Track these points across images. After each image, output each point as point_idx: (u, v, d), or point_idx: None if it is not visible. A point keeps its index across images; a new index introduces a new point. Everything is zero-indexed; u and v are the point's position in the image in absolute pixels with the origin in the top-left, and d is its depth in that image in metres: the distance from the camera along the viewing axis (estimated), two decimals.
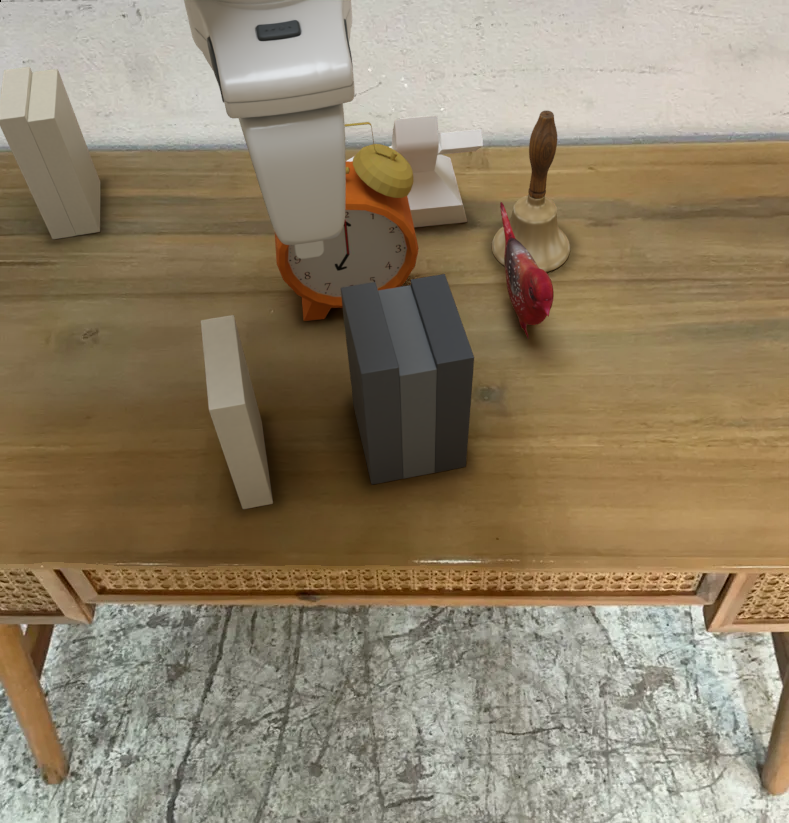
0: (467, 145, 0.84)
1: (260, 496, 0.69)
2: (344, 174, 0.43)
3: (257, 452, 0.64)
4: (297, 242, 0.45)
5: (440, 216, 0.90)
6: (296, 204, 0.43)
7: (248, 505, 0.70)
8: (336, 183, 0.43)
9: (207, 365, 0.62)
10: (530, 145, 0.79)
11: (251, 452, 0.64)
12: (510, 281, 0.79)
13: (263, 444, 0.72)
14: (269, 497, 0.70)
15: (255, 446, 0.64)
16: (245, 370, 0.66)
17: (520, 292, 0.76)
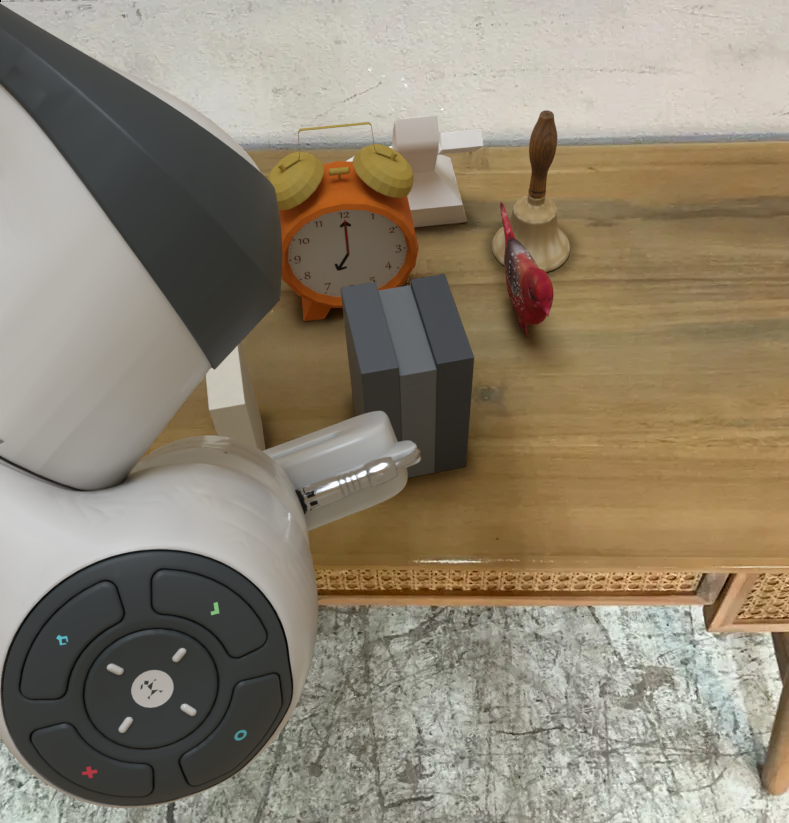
0: (467, 145, 0.84)
1: None
2: None
3: None
4: None
5: (440, 216, 0.90)
6: None
7: None
8: None
9: None
10: (530, 145, 0.79)
11: None
12: (510, 281, 0.79)
13: (263, 444, 0.72)
14: None
15: (255, 446, 0.64)
16: (245, 370, 0.66)
17: (520, 292, 0.76)
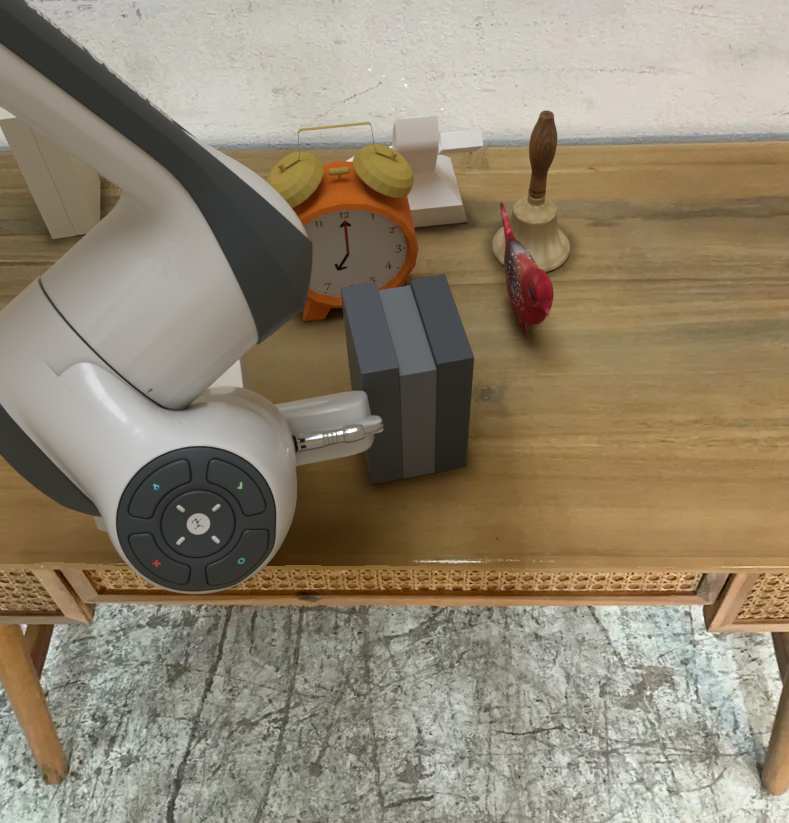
0: (467, 145, 0.84)
1: None
2: None
3: None
4: None
5: (440, 216, 0.90)
6: None
7: None
8: None
9: None
10: (530, 145, 0.79)
11: None
12: (510, 281, 0.79)
13: None
14: None
15: None
16: (245, 370, 0.66)
17: (520, 292, 0.76)
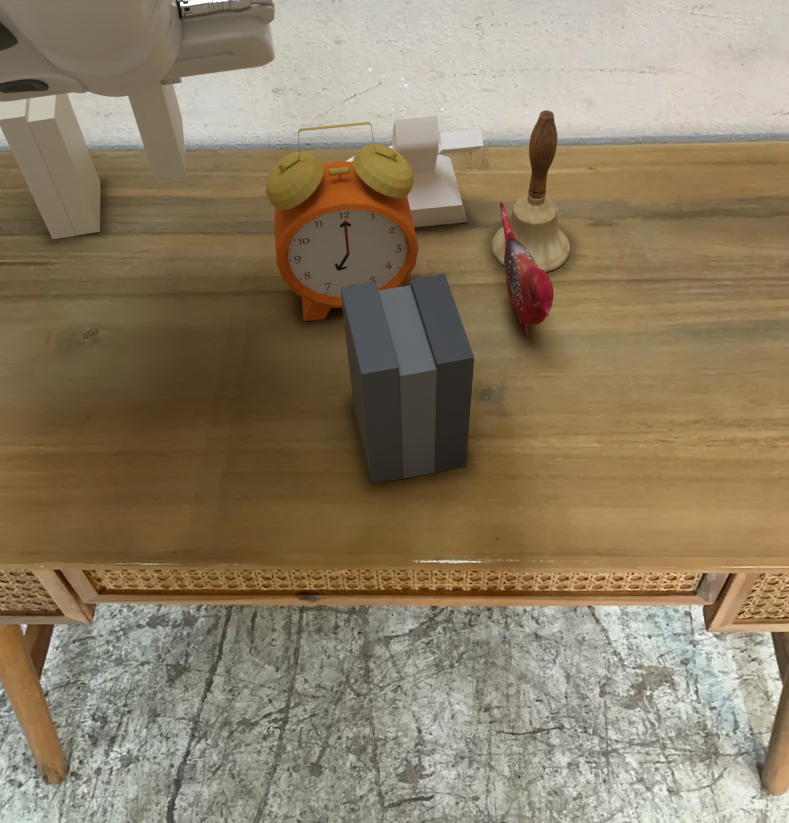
0: (467, 145, 0.84)
1: (172, 166, 0.68)
2: None
3: (162, 96, 0.63)
4: None
5: (440, 216, 0.90)
6: None
7: (161, 179, 0.69)
8: None
9: None
10: (530, 145, 0.79)
11: (157, 96, 0.63)
12: (510, 281, 0.79)
13: (179, 127, 0.71)
14: (182, 170, 0.69)
15: (159, 86, 0.63)
16: None
17: (520, 292, 0.76)
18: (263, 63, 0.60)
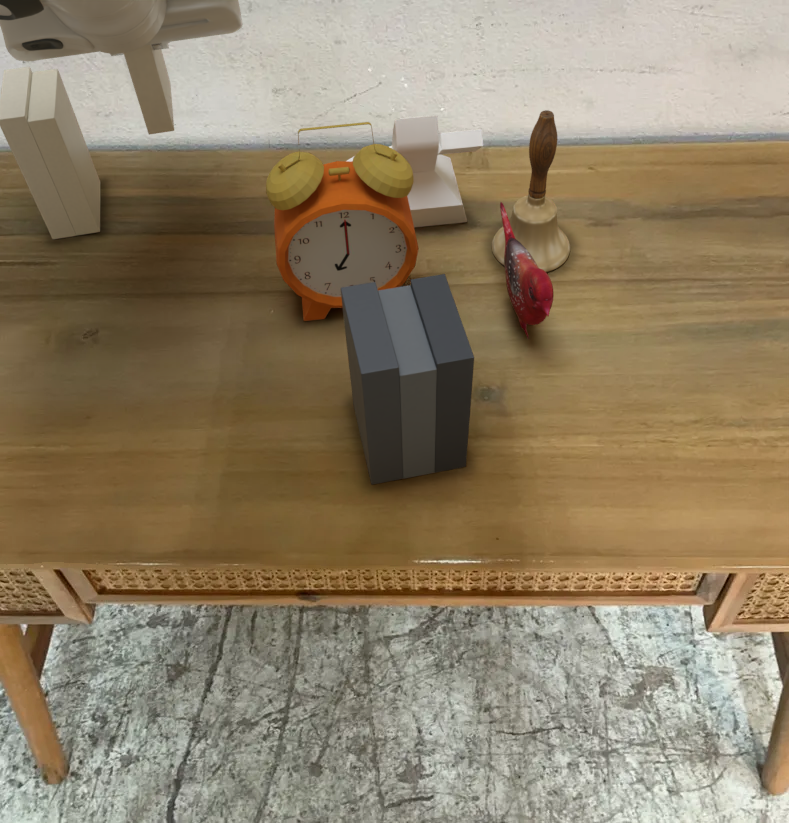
0: (467, 145, 0.84)
1: (162, 118, 0.83)
2: (10, 53, 0.70)
3: (153, 59, 0.78)
4: None
5: (440, 216, 0.90)
6: None
7: (152, 129, 0.84)
8: None
9: None
10: (530, 145, 0.79)
11: (148, 58, 0.78)
12: (510, 281, 0.79)
13: (167, 87, 0.86)
14: (170, 121, 0.84)
15: (150, 50, 0.78)
16: None
17: (520, 292, 0.76)
18: (233, 30, 0.75)
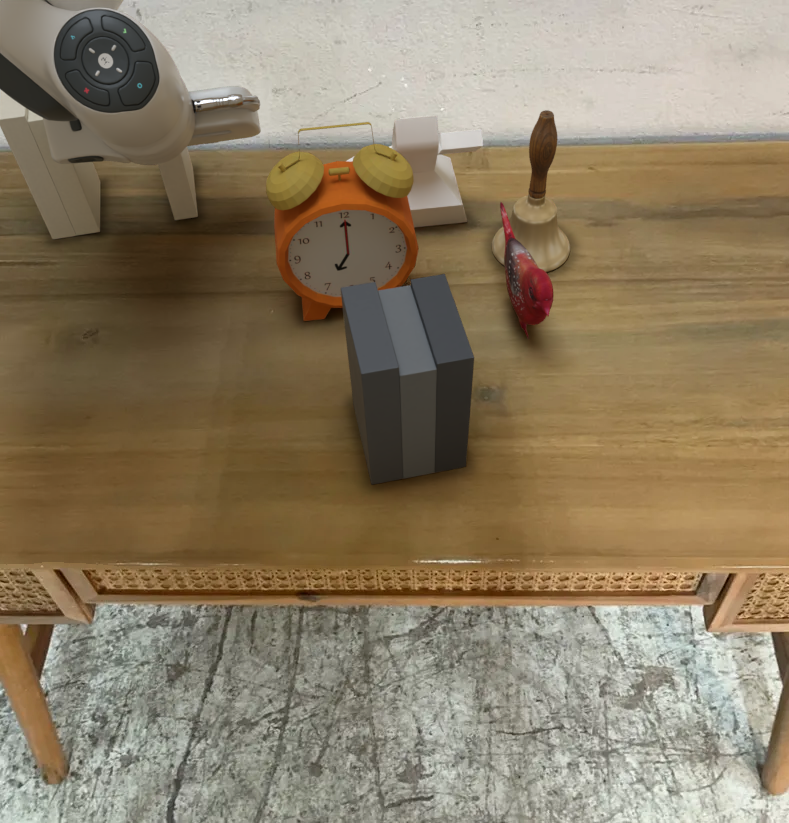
0: (467, 145, 0.84)
1: (187, 206, 0.92)
2: (55, 161, 0.79)
3: (181, 158, 0.87)
4: None
5: (440, 216, 0.90)
6: None
7: (178, 216, 0.93)
8: None
9: None
10: (530, 145, 0.79)
11: (176, 158, 0.87)
12: (510, 281, 0.79)
13: (191, 176, 0.95)
14: (194, 209, 0.93)
15: None
16: None
17: (520, 292, 0.76)
18: (252, 135, 0.83)
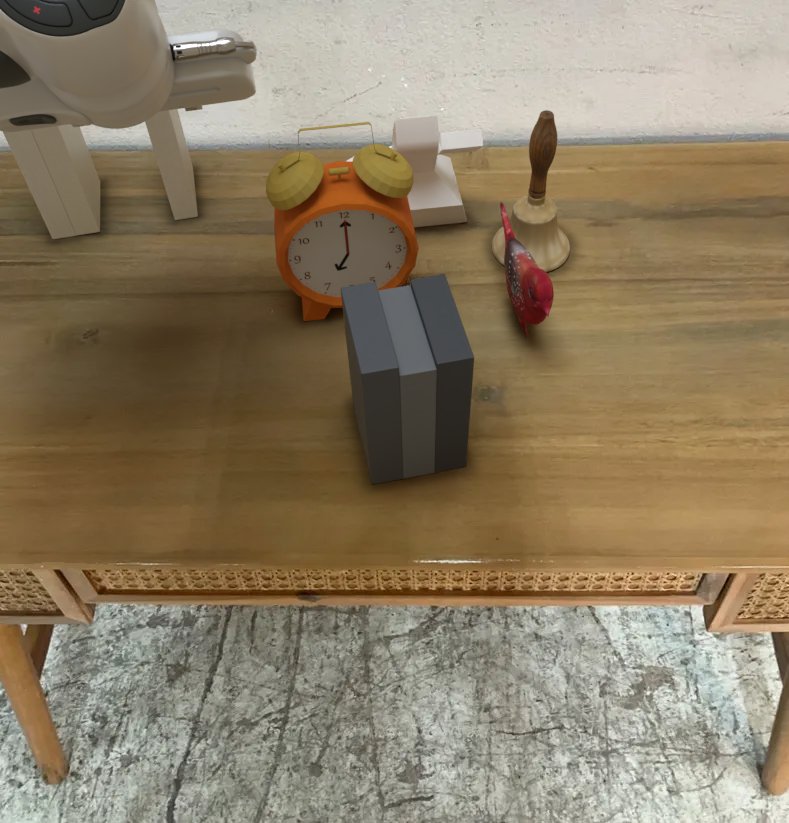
0: (467, 145, 0.84)
1: (187, 206, 0.92)
2: None
3: (181, 158, 0.87)
4: None
5: (440, 216, 0.90)
6: None
7: (178, 216, 0.93)
8: None
9: None
10: (530, 145, 0.79)
11: (176, 158, 0.87)
12: (510, 281, 0.79)
13: (191, 176, 0.95)
14: (194, 209, 0.92)
15: (179, 151, 0.86)
16: None
17: (520, 292, 0.76)
18: (245, 97, 0.67)
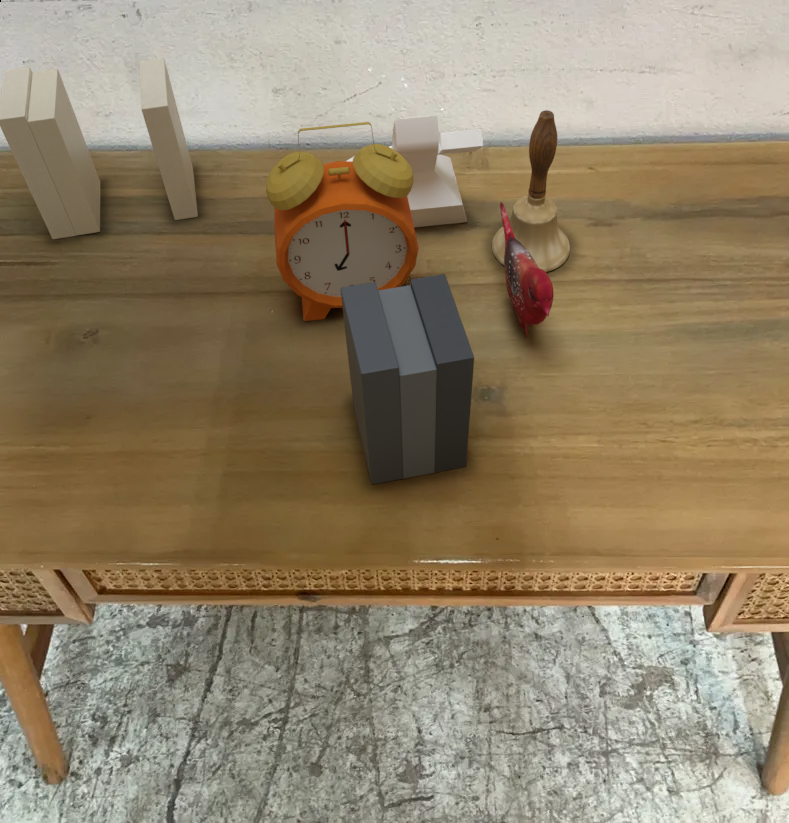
0: (467, 145, 0.84)
1: (187, 206, 0.92)
2: None
3: (181, 158, 0.87)
4: None
5: (440, 216, 0.90)
6: None
7: (178, 216, 0.93)
8: None
9: (142, 85, 0.84)
10: (530, 145, 0.79)
11: (176, 158, 0.87)
12: (510, 281, 0.79)
13: (191, 176, 0.95)
14: (194, 209, 0.92)
15: (179, 151, 0.86)
16: (173, 103, 0.89)
17: (520, 292, 0.76)
18: None
